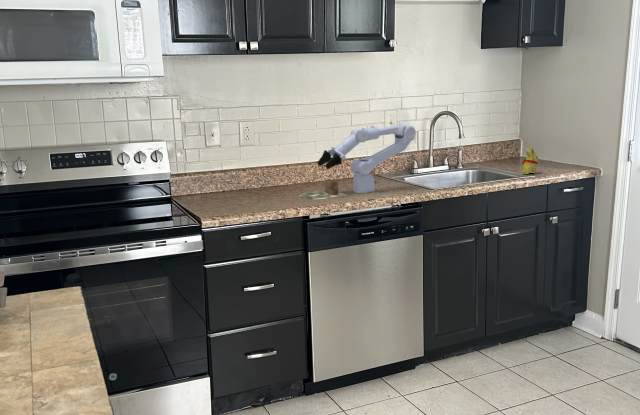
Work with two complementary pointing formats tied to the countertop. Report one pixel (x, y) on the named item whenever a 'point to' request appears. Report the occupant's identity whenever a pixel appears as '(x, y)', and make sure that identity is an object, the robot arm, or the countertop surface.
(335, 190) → the walnut block
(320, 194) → the board
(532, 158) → the chocolate bunny
